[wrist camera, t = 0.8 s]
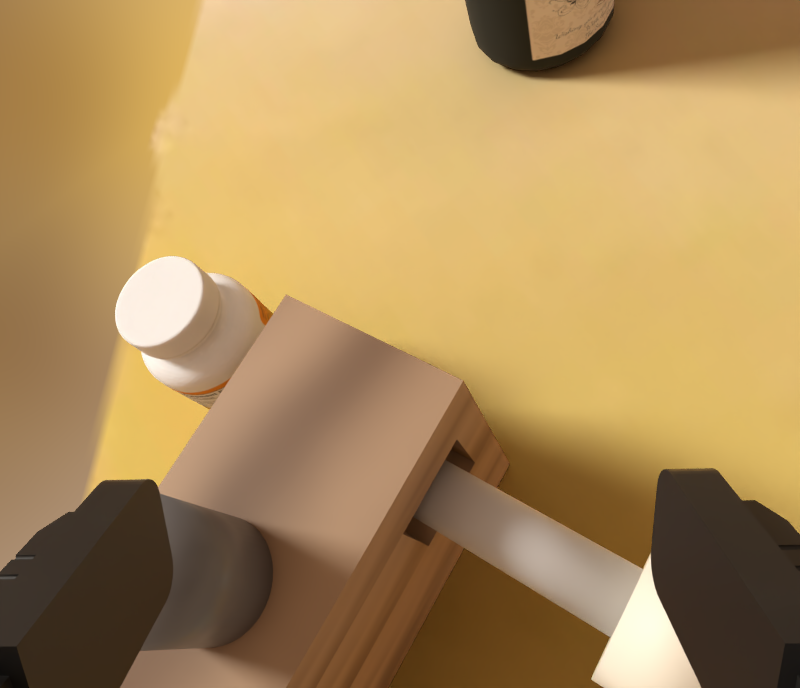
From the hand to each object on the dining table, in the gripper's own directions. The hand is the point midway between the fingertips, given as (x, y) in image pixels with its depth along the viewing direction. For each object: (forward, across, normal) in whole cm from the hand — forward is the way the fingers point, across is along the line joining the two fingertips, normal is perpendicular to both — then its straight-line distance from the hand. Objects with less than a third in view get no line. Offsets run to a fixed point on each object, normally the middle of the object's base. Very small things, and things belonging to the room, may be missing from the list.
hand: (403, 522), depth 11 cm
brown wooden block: (+14, +4, +14) cm, 20 cm away
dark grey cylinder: (+6, +6, +6) cm, 11 cm away
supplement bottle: (+22, +8, +7) cm, 25 cm away
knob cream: (+10, -4, +9) cm, 14 cm away
